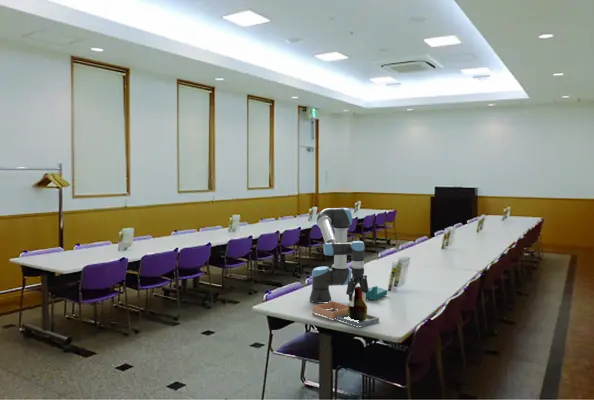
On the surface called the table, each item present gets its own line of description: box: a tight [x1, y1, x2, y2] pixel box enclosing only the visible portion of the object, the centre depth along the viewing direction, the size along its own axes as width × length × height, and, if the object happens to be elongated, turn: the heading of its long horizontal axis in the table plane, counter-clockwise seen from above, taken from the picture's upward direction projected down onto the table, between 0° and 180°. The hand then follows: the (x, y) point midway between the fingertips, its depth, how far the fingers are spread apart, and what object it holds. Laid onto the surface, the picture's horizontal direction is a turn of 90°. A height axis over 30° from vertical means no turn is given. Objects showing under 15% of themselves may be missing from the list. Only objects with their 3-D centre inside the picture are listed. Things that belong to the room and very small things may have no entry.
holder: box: [312, 300, 348, 319], centre depth 297 cm, size 18×18×5 cm
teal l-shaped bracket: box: [362, 285, 388, 301], centre depth 339 cm, size 18×11×10 cm, turn 140°
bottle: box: [347, 285, 368, 321], centre depth 284 cm, size 12×6×20 cm, turn 53°
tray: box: [336, 313, 380, 327], centre depth 284 cm, size 18×18×2 cm
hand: (357, 304), depth 283 cm, fingers open, 9 cm apart
